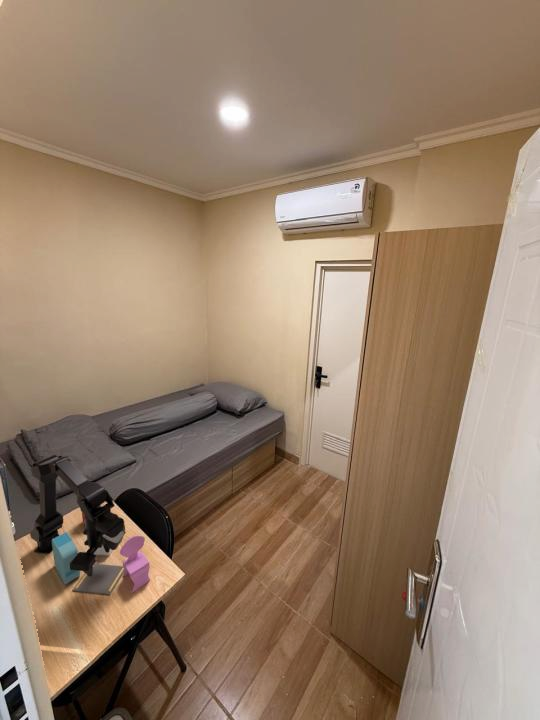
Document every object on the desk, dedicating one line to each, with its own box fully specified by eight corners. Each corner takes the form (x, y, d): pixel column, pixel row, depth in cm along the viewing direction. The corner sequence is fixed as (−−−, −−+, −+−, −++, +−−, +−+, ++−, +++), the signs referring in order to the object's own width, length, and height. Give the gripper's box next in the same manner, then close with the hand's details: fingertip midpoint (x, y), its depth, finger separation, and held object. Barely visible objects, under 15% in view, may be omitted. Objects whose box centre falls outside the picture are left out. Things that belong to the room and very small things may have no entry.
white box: (94, 554, 109) (92, 538, 107) (107, 537, 117) (105, 522, 115) (110, 555, 108) (109, 540, 107) (122, 538, 116) (121, 524, 115)
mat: (72, 591, 95) (72, 590, 95) (92, 564, 105) (92, 563, 105) (110, 594, 94) (110, 593, 94) (126, 567, 104) (126, 566, 104)
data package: (80, 577, 100) (77, 548, 97) (65, 586, 96) (62, 557, 94) (69, 557, 107) (66, 530, 105) (54, 565, 104) (51, 537, 101)
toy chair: (129, 596, 94) (126, 558, 91) (119, 578, 100) (116, 541, 97) (153, 579, 100) (152, 543, 97) (143, 563, 106) (141, 528, 103)
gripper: (101, 550, 86) (105, 592, 89) (134, 506, 104) (136, 543, 107) (65, 547, 86) (70, 589, 89) (104, 504, 104) (107, 540, 108)
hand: (99, 563), depth 98 cm, fingers open, 9 cm apart
